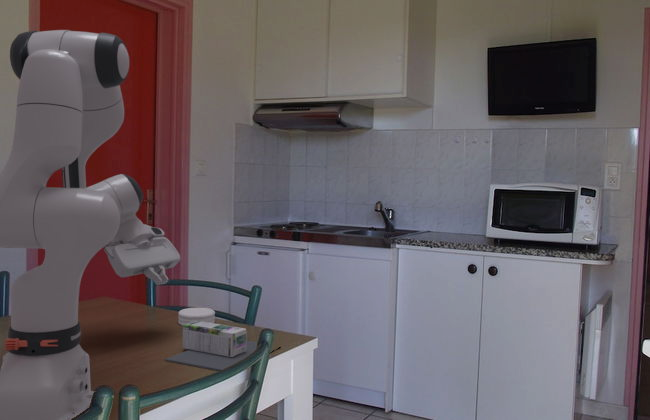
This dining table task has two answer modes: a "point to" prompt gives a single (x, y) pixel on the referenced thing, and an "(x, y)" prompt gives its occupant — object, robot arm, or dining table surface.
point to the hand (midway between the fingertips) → (163, 283)
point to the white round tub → (196, 315)
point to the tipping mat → (210, 358)
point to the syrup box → (214, 338)
